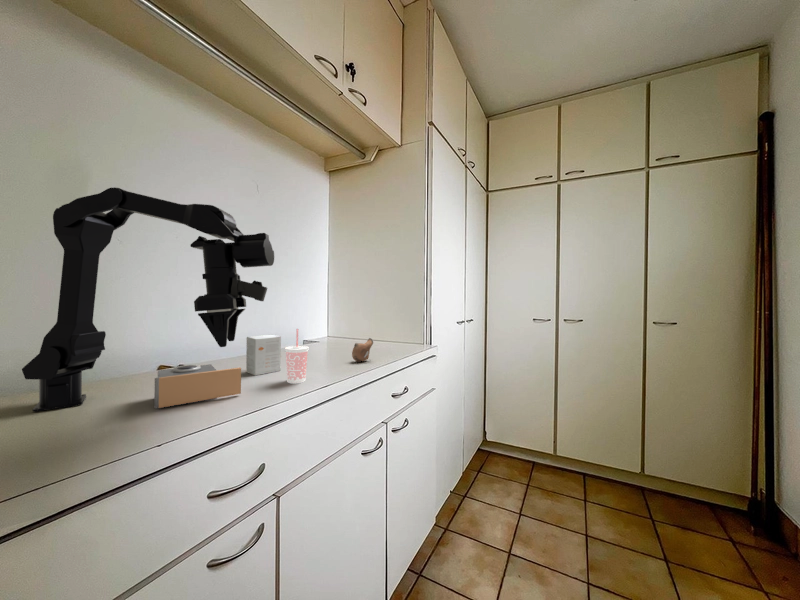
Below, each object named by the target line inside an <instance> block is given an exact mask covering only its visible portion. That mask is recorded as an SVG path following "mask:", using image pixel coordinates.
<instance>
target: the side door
mask: <svg viewBox="0 0 800 600" xmlns="http://www.w3.org/2000/svg"><path fill="white" fill-rule="evenodd" d="M241 394H242V368H241V367H233V368H232V367H231V368H226V369H225V368H224V369H218V370H217V369H216V371H208V372H200V373H192V374H184V375H175V376H167V377H159V378H158V377H154V401H153V402H154V409H163V408H162V407H165V408H168V407H167V406H171V407H174V406H173V405H177V406H180V405H179V404H182V405H185V404H184V403H188V404H191V403H190V402H194V403H197V402H196V401H199V402H203V401H202V400H205V401H208V400H207V399H211V400H214V399H213V398H216V399H218V398H223V397H229V396H235V395H241Z"/></svg>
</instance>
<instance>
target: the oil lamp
mask: <svg viewBox="0 0 800 600" xmlns="http://www.w3.org/2000/svg"><path fill="white" fill-rule="evenodd" d="M373 344H374V341H373V339H372V338H371V337H369V338H368V340H366V341H365V343H358V342H355V343H354V346H353V348H352V351H351V357H352V359H353V360H354V361H355V362H358V363H361V361H362V362H364V361H367V360H369V359H370V358H369V357H370V350H371V348H372V346H373Z"/></svg>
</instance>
